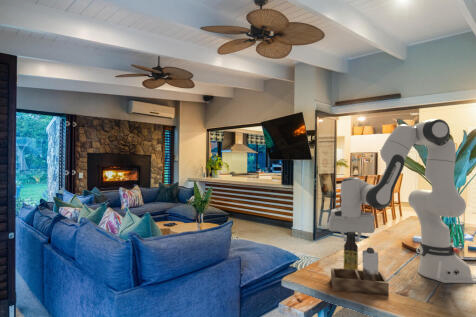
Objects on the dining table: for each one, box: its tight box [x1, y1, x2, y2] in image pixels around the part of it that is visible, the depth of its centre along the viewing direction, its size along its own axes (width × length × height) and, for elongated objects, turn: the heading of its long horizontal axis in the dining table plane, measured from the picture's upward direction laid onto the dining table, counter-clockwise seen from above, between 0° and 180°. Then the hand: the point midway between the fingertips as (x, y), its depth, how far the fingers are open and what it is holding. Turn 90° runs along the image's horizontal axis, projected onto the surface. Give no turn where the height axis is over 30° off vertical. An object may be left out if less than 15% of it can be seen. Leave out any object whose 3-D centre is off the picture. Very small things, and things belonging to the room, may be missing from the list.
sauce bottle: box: [343, 232, 359, 270], centre depth 138 cm, size 6×6×20 cm
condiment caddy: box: [330, 267, 390, 296], centre depth 125 cm, size 21×12×5 cm, turn 77°
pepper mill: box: [362, 246, 379, 281], centre depth 124 cm, size 6×6×16 cm
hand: (350, 241), depth 138 cm, fingers closed on sauce bottle, 4 cm apart
